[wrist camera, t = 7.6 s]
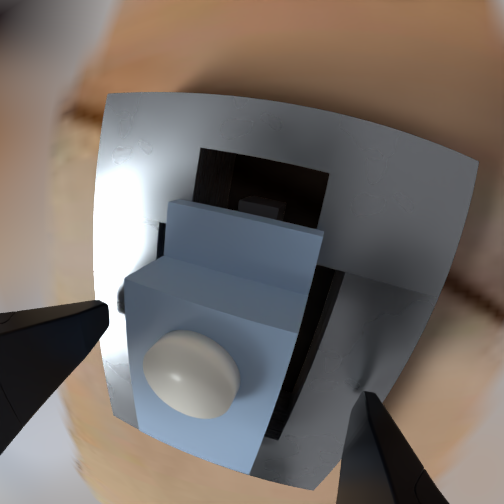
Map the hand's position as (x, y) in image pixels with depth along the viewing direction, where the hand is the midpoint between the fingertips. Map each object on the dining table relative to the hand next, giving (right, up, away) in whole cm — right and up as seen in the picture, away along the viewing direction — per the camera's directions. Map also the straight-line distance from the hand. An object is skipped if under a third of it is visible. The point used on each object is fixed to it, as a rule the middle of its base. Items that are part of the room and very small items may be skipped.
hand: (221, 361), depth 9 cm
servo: (+1, +1, +3) cm, 4 cm away
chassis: (+1, +1, +3) cm, 3 cm away
